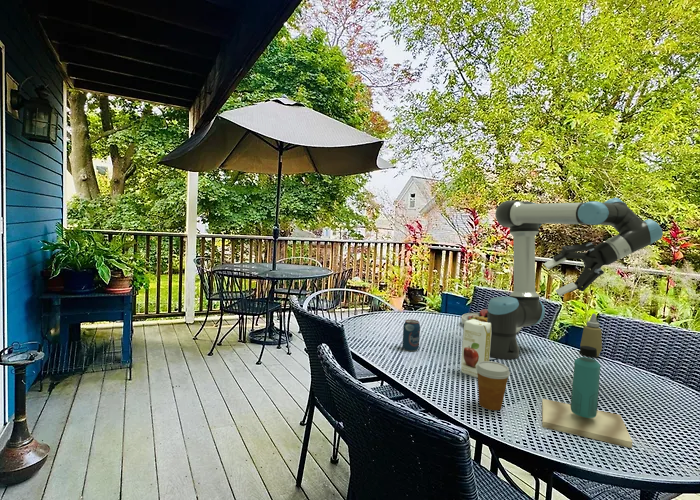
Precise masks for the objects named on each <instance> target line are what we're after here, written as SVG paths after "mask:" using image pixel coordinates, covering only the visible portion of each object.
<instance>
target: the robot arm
mask: <svg viewBox="0 0 700 500" xmlns="http://www.w3.org/2000/svg"><path fill="white" fill-rule="evenodd" d="M495 219H496V221H497V223H498V224H499V225H501V226H502V227H504V228H509V234H511V236H512V237H513V290H512V292H511V293H510V294H509V296H495V297H492V298H490V300H489V301H488V305H487V306H488V307H487V310H488V315H487V322H488V323H491V345H490V357H492V358H495V359H501V360H502V359H503V360H513V359H514V360H516V359H518V358H519V357H520V350H519V344H518V340H517V333H516V328H517V327H522V328H525V327H528V328H530V327H532V326H536V325H539V323H541V322H542V321H543V320H544V317H545V314H546V309H545V305H544V304H543V302H542V301H541V300H540V295H539V294H538V293H537V292H536V236H537V235H538V234H539V232H540V229H539V228H540V227H541V226H542V224H544V225H545V224H551V225H564V224H565V225H587V226H588V225H590V226H592V225H593V226H596V225H597V226H612V227H613V228H614V229H615V230H616V231H617V234H616V235H614V236H612V237H610V238H608V239H606V240H605V241H602V242H601V243H599V244H597V245H595V244H594V243H593V242H591V241H588V242H585V243H582V244H581V243H580V244H571V245H563V246H562V247H561V250H560V253H558V254H556V255H555V256H553V258H552V259H550V260H548V261H546V262H545V263H543V265H544V267H545V268H546V269H548V270H549V269H552V268H553V267H555V266H557V265H559V264H561V263H563V262H565V261H566V262H567V258H568V259H579V260H582V262H583V266H584V267H583V270H582V272H581V273H580V274H579V276H578V277H577V279H576V280H575V282H573V281H572V282H570V283H568V284H565V285H563V286H561V287H559V288H558V289H557V288H556V289H555V292H556V294H558V296H559V297H561V296H563V295H565V294H567V293H571V292H573V291H576V290H579V291H580V292H584V291H585V290H586V289H587V288H588V287H589V286H590V285H591V284H592V283H594V281H595V280H596V279H598V278H599V277H601V276H603V274H604V273H605V272H604V270H602V267H604V266H609V265H610V264H613V263H616V261H618V260H621V259H623V258H624V257H627V256H629V255H631V254H633V253H635V252H637V251H640V250H642V249H643V248H646V247H648V246H651V245H652V244H653V243H655V242H657V241H659V240H660V239H662V237H663V235H664V234H663V233H664V232H663V229H662V227H661V225H659V223H658V222H657V221H656V220H655V221H654V220H653V219H650V218H649V219H648V218H647V219H646V220H645V219H644V220H642V219H641V218H640V217H639V216H638V215H637V214H636V213H635V212H634V211H633V210H632V209H631V208H630V207H629V206H628V205H627V203H626V202H625V201H622V200H621V199H620V198H619V197H613V198H610V199H608V200H606V201H604V202H601V201H587V202H557V203H556V202H554V203H553V202H552V203H551V202H550V203H546V202H545V203H535V202H531V201H522V200H512V199H511V200H505V201H503V202H501V203H500V204H499V205H498V206H497V207H496V208H495ZM585 251H587V252H585Z"/></svg>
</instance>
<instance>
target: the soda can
mask: <svg viewBox="0 0 700 500" xmlns="http://www.w3.org/2000/svg"><path fill="white" fill-rule="evenodd" d="M402 330H403V331H402V348H403V349H404V351H406V352H416V351H418V350H419V348H420V332H421V325H420V322H419V321H418V320H417V319H406V320H405V322H404V323H403V329H402Z"/></svg>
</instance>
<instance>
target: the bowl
mask: <svg viewBox="0 0 700 500" xmlns="http://www.w3.org/2000/svg"><path fill="white" fill-rule="evenodd" d="M487 315H488V308H483V309H481V310H479V312H467V313H464V314H462V315H461V322H462V324H463V325H464V324H465V321H468V320H471V319H475V320H479V321H481V322H487ZM522 328H523V327H517V328H516V334H517V333H519V332H520V331H521V330H522Z"/></svg>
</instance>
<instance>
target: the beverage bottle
mask: <svg viewBox="0 0 700 500" xmlns="http://www.w3.org/2000/svg"><path fill="white" fill-rule="evenodd" d="M578 353H579V354H580V355H581V356H579V357H578V358H576V359H575V360H574V361H573V362H574V364H573V365H574V366H573V375H572V384H571V394H570V395H571V396H570V405H571V411H572V412H573V413H574V414H576V415H578V416H581V417H585V418H594V417H596V415H597V412H598V411H597V410H599V395H600V377H601V376H600V374H601V368H602V365H601V364H600V363H599V362H598V361H597V359H595V358H598V357H597V349H596V348H594V347H590V346H580V347H579V351H578Z"/></svg>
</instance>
